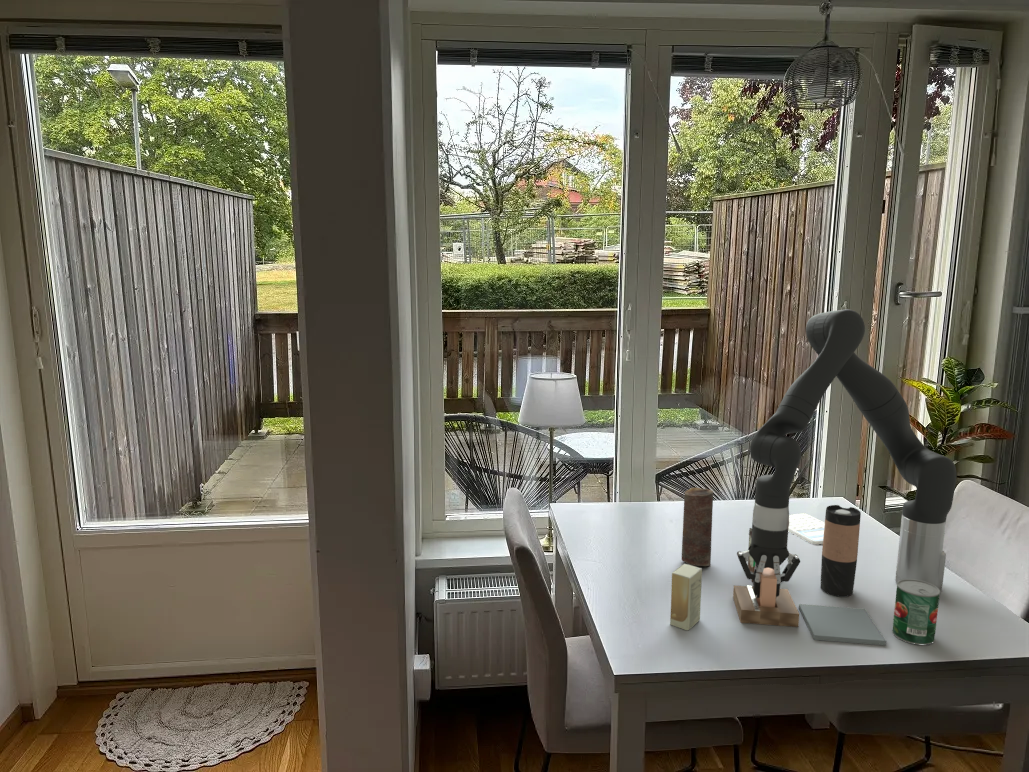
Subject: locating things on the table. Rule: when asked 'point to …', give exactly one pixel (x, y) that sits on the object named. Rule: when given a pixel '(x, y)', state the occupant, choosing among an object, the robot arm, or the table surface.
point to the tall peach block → (767, 589)
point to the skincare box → (686, 596)
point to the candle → (697, 527)
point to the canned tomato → (915, 611)
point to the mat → (841, 624)
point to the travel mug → (840, 550)
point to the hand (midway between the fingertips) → (765, 596)
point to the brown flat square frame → (765, 608)
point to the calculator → (807, 528)
